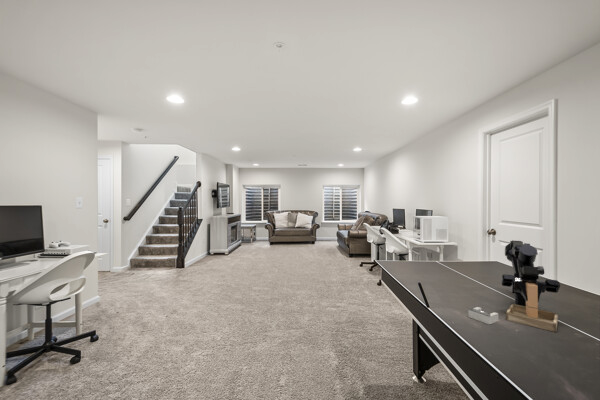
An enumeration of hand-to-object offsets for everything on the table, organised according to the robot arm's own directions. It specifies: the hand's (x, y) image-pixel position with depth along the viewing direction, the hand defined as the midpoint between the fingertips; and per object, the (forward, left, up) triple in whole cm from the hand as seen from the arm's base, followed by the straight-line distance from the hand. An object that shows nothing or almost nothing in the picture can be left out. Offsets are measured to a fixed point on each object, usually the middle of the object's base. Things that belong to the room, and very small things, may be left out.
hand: (532, 301), depth 109 cm
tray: (-1, 0, -9) cm, 9 cm away
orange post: (-1, 0, -6) cm, 6 cm away
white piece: (+12, -14, -9) cm, 20 cm away
